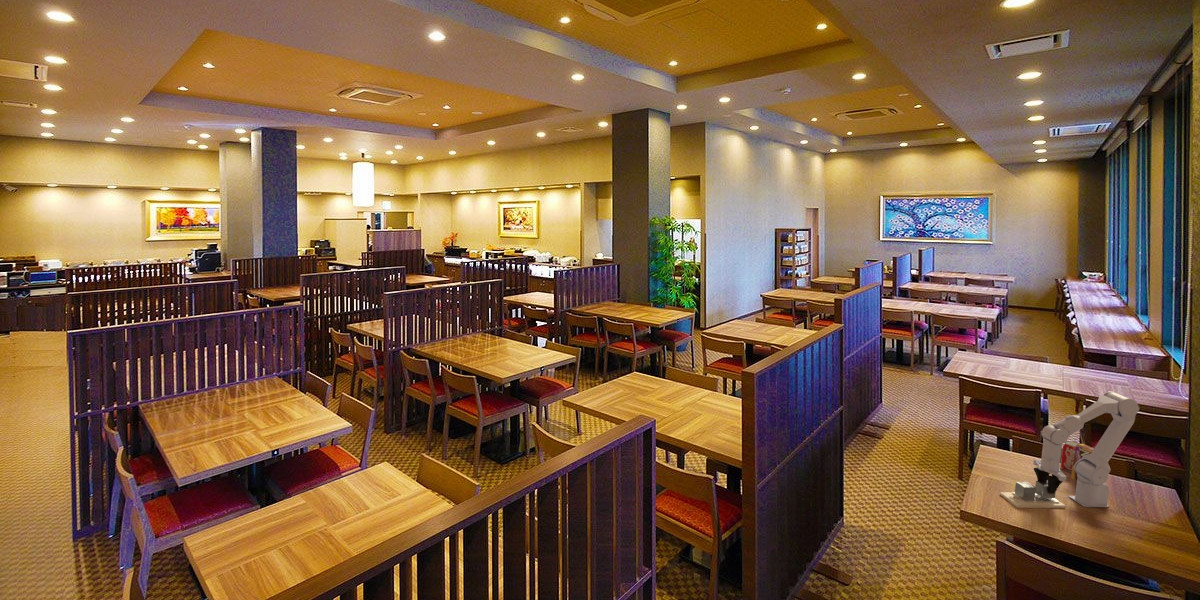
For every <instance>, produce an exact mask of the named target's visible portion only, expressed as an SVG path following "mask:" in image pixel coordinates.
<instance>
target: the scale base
mask: <svg viewBox="0 0 1200 600" xmlns="http://www.w3.org/2000/svg"><path fill="white" fill-rule="evenodd" d="M1012 492H1013V491H1011V492H1010V491H1009V492H1008V491H1007V492H1006V491H1005V492H1004V491H1001V492H999V495H1000V496H1001V497H1002V498H1004V499H1005V500H1007V501H1008V502H1009V503H1010V504H1012V505H1013V506H1014V507H1016V508H1024V509H1025V508H1032V509H1033V508H1035V509H1037V508H1038V509H1040V508H1041V509H1044V508H1045V509H1065V508H1066V505H1065V504H1064V503H1062V502H1061V501H1059V503H1024V502H1023V501H1022V500H1020V499H1019V498H1018V497H1016V496H1015V495H1013V494H1012Z"/></svg>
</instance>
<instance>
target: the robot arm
mask: <svg viewBox="0 0 1200 600" xmlns="http://www.w3.org/2000/svg"><path fill="white" fill-rule="evenodd" d="M1140 408H1141V407H1140V406H1139V404H1138V402H1137V401H1136V400H1135V399H1133V398H1131V397H1127V396H1125V395H1123V394H1119V393H1117V392H1116V391H1112V390H1111V391H1107V392H1104V393H1103V394H1102V395H1099V397H1098V399H1097V401H1096V402H1093V403H1092V404H1091V405H1090V406H1088V407H1086V408H1085V409H1083V410H1082V411H1081V412H1079V413H1077V414H1070V415H1066V416H1065V417H1064V418H1062V419H1061V420H1059V421H1057V422H1055V423H1053V424H1051V425H1049V424H1048V425H1045V426H1044V427H1043V429H1042V430H1040V435H1041V437H1042V438H1043V439H1042V441H1043V443H1042V450H1041V459H1033V465H1034V466H1037V467H1033V472H1034V473H1035V475H1036V479H1037V481H1048V493H1049V494H1055V495H1056V493H1055V492H1057V490H1058V489H1059V487H1060V485H1061V484H1063V482H1066V481H1067V476H1066V475H1065V474H1064V472H1062V471H1061V469H1060V467H1061V466H1060V463H1061V455H1062V448H1063V445H1064V444H1065V442H1066V441H1068V439H1069V438H1070V437H1071V436H1072V435H1073V434H1075V433H1076V432H1078V431H1080V430H1082V429H1083V428H1084V425H1085V423H1086V422H1089V421H1091V420H1093V419H1095V418H1097V417H1100V416H1101V415H1104V414H1110V415H1111V417H1112V419H1113V420H1112V421H1111V422H1110V424H1109V425H1108V427H1107V428H1106V430H1105V431H1104V433H1103V435H1102V436H1101V437H1100V439H1099V440H1098V442H1097V444H1095V446H1094V447H1093V448H1094V450H1093V451H1092V453H1091V454H1088V455H1084V456H1083V457H1082V458H1081V459H1080V460H1079V461H1077V462H1076V463H1075V465H1074V470H1075V472H1076V473H1077V476H1078V479H1077V481H1076V487H1075V494H1074V495H1068V497H1069V499H1071V500H1072V501H1074V502H1076V503H1078V504H1079V505H1080V506H1082V507H1084V508H1109V507H1110V505H1108V504H1109V503H1108V502H1109V496H1110V488H1109V485H1108V483H1107V481H1108V479H1109V474H1110V472H1111V470H1112V469H1111V467H1110V464H1109V461H1110V460H1111V458H1112V457H1113V455H1114V454H1115V452H1116V451H1117V449H1118V448H1119V446H1120V444H1121V443H1122V442H1123V440H1124V439H1125V437H1126V435H1127V434H1128V432H1129V431H1130V430H1131V429H1132V426H1133V425H1134V423H1135V421H1136V415H1137V414H1138V412H1139V411H1140ZM1094 464H1095V465H1094Z"/></svg>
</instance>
